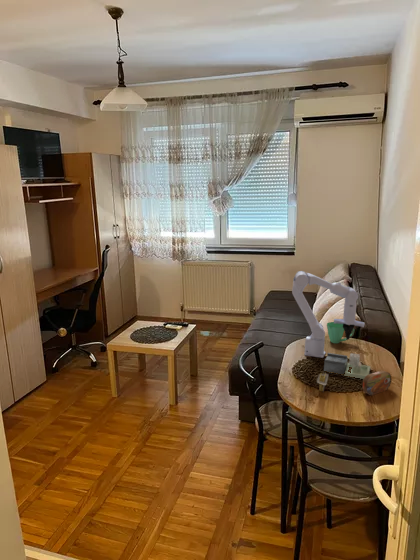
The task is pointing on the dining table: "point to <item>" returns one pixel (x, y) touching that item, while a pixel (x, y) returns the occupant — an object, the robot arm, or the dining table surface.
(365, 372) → the tray
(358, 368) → the chip
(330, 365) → the slot block
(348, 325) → the robot arm
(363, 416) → the dining table surface
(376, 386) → the tin
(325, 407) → the dining table surface
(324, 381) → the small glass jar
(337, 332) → the mug
